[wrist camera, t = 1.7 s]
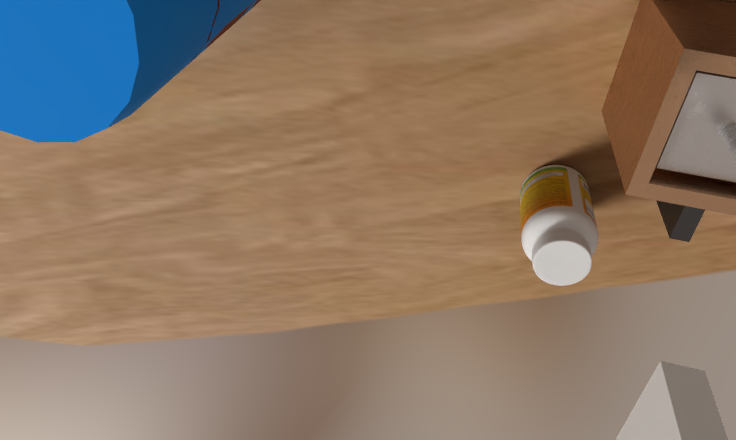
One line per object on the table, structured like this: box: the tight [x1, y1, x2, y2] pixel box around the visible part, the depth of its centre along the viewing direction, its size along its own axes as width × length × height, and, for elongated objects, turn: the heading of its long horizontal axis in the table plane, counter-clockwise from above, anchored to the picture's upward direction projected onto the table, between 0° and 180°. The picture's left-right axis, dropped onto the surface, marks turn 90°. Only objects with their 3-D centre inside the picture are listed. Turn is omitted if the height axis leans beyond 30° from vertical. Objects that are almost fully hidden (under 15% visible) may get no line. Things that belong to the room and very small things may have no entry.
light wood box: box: [602, 0, 736, 242], centre depth 42 cm, size 12×9×12 cm
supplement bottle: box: [520, 165, 598, 286], centre depth 49 cm, size 5×5×10 cm
